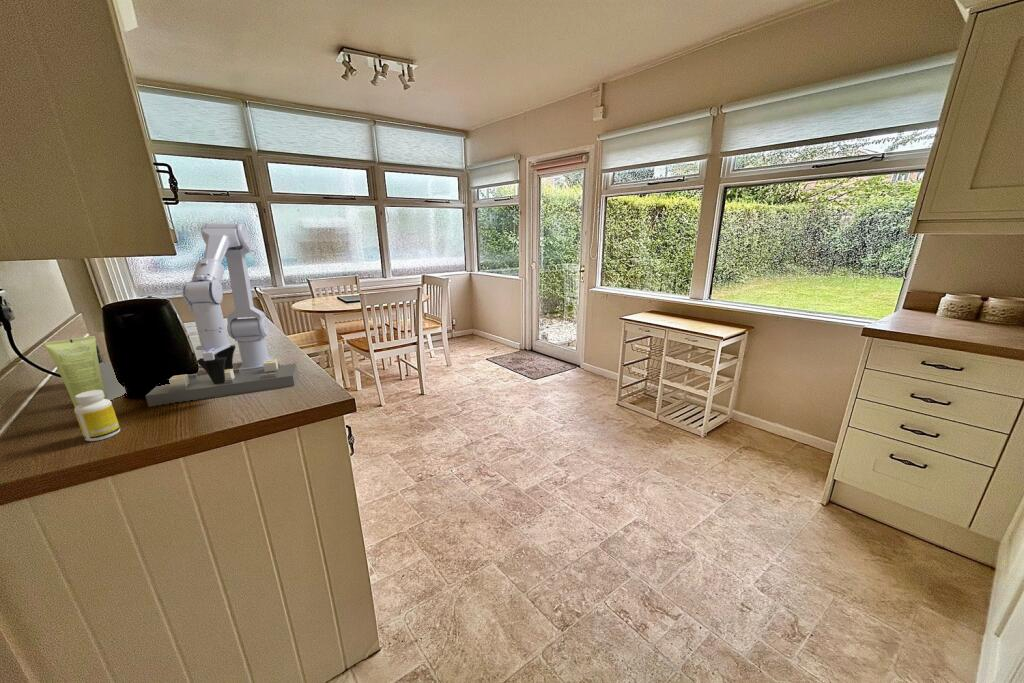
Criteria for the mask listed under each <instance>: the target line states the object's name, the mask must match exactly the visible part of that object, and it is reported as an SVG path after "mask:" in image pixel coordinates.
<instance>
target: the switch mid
mask: <svg viewBox="0 0 1024 683" xmlns="http://www.w3.org/2000/svg"><path fill="white" fill-rule="evenodd" d="M233 369H234V368H232V369H227V370H225V379H234V377H235V376H234V372H233Z"/></svg>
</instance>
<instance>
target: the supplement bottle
mask: <svg viewBox="0 0 1024 683" xmlns="http://www.w3.org/2000/svg"><path fill="white" fill-rule="evenodd" d="M75 399H76V402H77V403H79V405H78V406H76V407H74V409H73V411H74V413H75V414H74V415H75V416H76V419H77V422H78V426H79V428H80V430H81V433H82V436H83V438H84V440H85V441H86V442H96V441H102V440H105V439H108V438H111V437H113V436H116V435H117V434H119V432H121V427H120V423H119V420H118V418H117V414H116V412H115V409H114V406H113V403H112V401H110V400H108V399H104V393H103V391H102V390H92V391H87V392H83V393H80V394H78V395H76V396H75Z"/></svg>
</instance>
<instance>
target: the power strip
mask: <svg viewBox="0 0 1024 683" xmlns="http://www.w3.org/2000/svg"><path fill="white" fill-rule="evenodd" d="M232 369H233V372H234V376H235V377H234V379H225V382H224V383H222V384H214V383H213V381H212V380H211V378H210V376H209V375H208V374H205V375H198V374H197V373H191V374H187V375H188V378H189V382H190V383H189V384H188V385H187V386H186V385H179V386H171V387H170V384H165V385H161V386H157V385H156V386H155V387H154V388H153V389H151V390H150V391H149V392H148V393H146V395H145V399H146V403H147V406H148V408H149V407H151V408H152V407H157V405H158V406H163V405H162V404H165V405H169V403H172V404H176V403H175V402H179V403H183V402H182V401H186V402H190V400H193V401H197V400H198V399H199V400H204V398H206V399H212V398H211V397H213V398H218V397H217V396H220V397H226V396H225V395H227V396H231V395H232V396H233V395H239V394H245V393H252V392H259V391H267V390H274V389H280V388H287V386H288V387H293V385H295V386H296V383H297V382H296V381H297V378H298V374H299V371H298V364H297V363H290V364H289V363H288V364H282V365H281V363H278V369H277V371H269V372H265V370H264V367H262V368H254V369H246V370H240V367H238V368H232ZM199 400H198V401H199Z"/></svg>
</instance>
